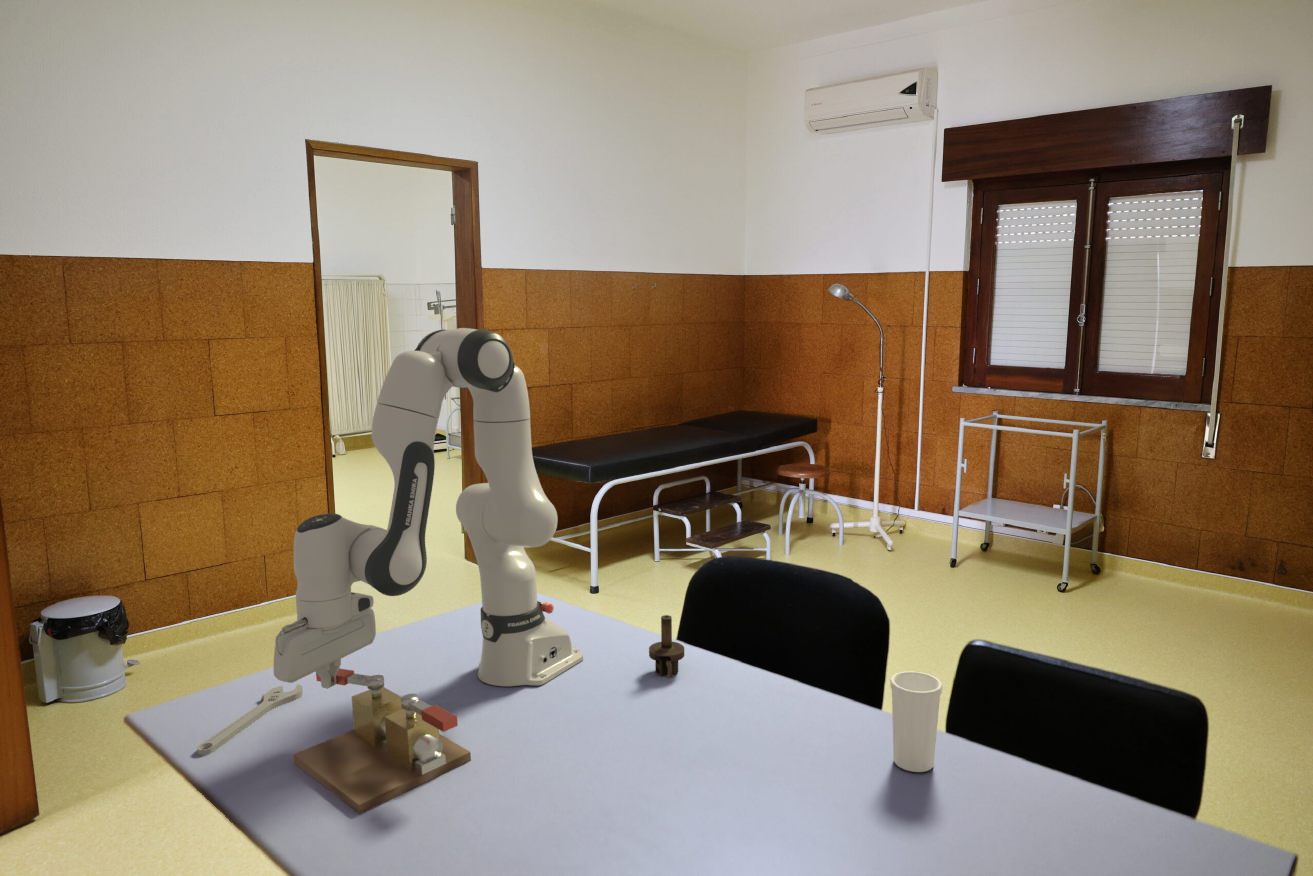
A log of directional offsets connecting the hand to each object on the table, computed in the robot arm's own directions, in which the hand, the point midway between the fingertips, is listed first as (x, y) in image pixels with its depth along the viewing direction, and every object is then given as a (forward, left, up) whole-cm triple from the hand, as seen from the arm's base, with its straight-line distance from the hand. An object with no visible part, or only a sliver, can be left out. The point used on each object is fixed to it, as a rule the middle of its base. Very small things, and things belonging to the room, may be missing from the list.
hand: (329, 686), depth 148 cm
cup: (-59, +80, -11) cm, 100 cm away
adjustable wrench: (+6, -20, -11) cm, 24 cm away
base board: (-2, +13, -10) cm, 16 cm away
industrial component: (-60, +25, -11) cm, 66 cm away
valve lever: (-3, +2, 0) cm, 4 cm away
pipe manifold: (-5, +15, -9) cm, 18 cm away
